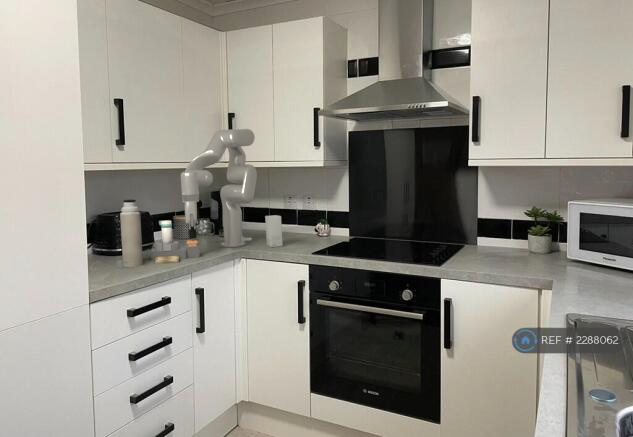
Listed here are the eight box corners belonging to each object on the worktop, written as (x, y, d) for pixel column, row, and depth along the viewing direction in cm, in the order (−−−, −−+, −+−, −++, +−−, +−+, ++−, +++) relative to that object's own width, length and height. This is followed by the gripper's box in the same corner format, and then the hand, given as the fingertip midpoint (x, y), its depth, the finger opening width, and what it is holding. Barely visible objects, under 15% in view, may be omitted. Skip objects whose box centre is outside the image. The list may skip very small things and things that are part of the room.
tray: (179, 259, 228) (179, 255, 228) (179, 262, 221) (178, 258, 221) (156, 260, 226) (155, 257, 226) (155, 263, 219) (154, 260, 218)
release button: (197, 253, 237) (197, 240, 237) (197, 255, 233) (197, 241, 232) (187, 254, 236) (186, 240, 235) (187, 255, 232) (186, 242, 231)
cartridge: (173, 248, 234) (171, 219, 233) (172, 249, 230) (171, 221, 228) (160, 248, 233) (159, 220, 231) (160, 250, 228) (159, 221, 227)
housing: (199, 254, 240) (198, 239, 239) (199, 257, 231) (199, 242, 230) (152, 256, 235) (151, 241, 234) (151, 260, 225) (150, 245, 225)
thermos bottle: (119, 265, 216) (115, 199, 213) (136, 262, 222) (132, 198, 219) (129, 267, 211) (125, 200, 208) (146, 264, 217) (143, 199, 214)
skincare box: (282, 246, 258) (282, 216, 256) (270, 247, 255) (269, 216, 254) (277, 244, 266) (277, 214, 264) (265, 245, 263) (264, 215, 261)
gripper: (182, 197, 238) (184, 236, 240) (182, 200, 224) (184, 241, 226) (198, 196, 240) (200, 234, 242) (199, 199, 225) (201, 240, 228)
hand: (192, 237), depth 234 cm, fingers closed
